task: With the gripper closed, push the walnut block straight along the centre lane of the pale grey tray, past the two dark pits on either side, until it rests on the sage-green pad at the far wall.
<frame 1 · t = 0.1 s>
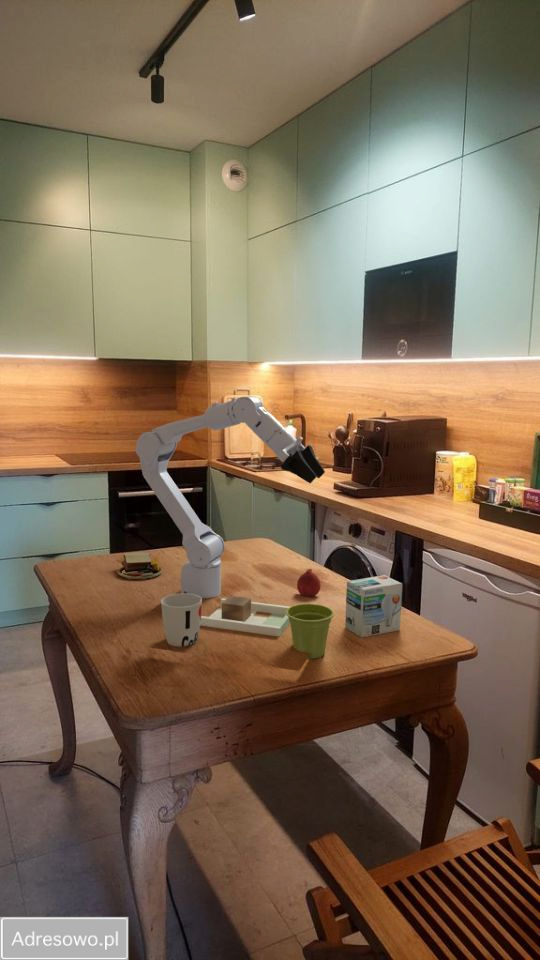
hand: (317, 477, 145), 32 cm above the table, tool tilted 50°, fingers open, 7 cm apart
onion: (308, 600, 159), on the table
block: (236, 618, 142), point 1 cm above the table, touching tray
light bulb box: (372, 629, 141), on the table
toy sandwich meal: (138, 574, 179), on the table
plant pot: (308, 654, 128), on the table
tray: (249, 626, 141), on the table
cup: (182, 648, 130), on the table
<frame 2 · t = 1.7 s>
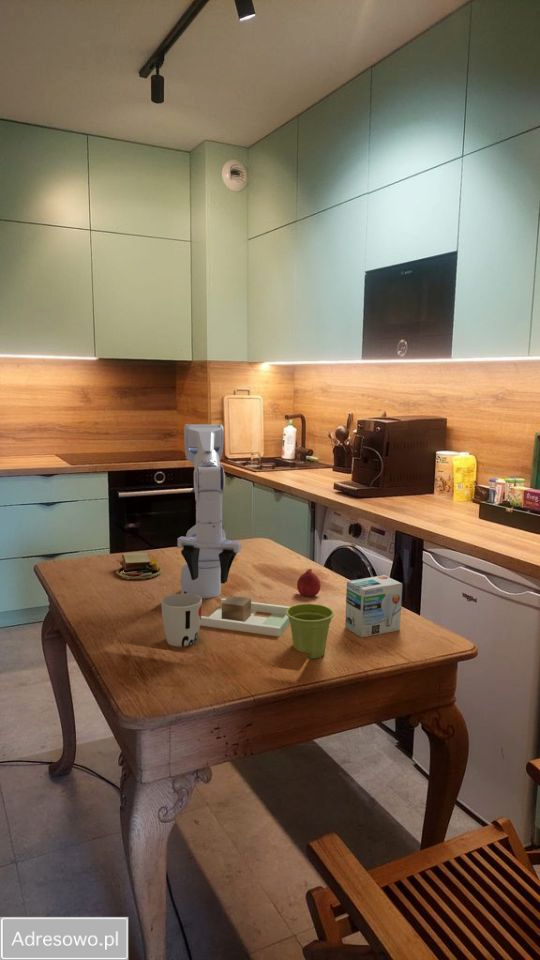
hand: (209, 580, 143), 9 cm above the table, tool pointing down, fingers open, 6 cm apart
nothing on the table moved.
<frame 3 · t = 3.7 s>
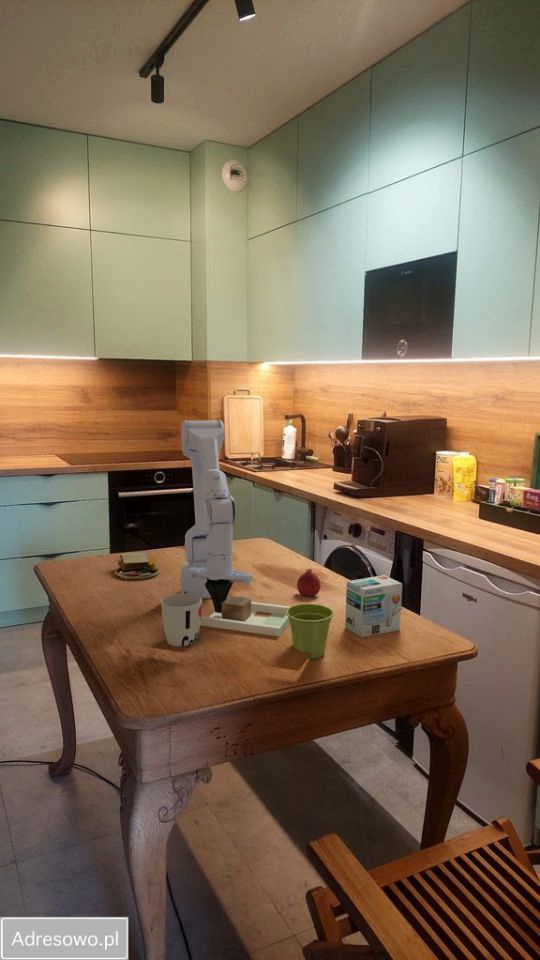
hand: (219, 611, 143), 3 cm above the table, tool pointing down, fingers closed
block: (236, 618, 142), point 2 cm above the table, touching gripper, tray
everything else where it was.
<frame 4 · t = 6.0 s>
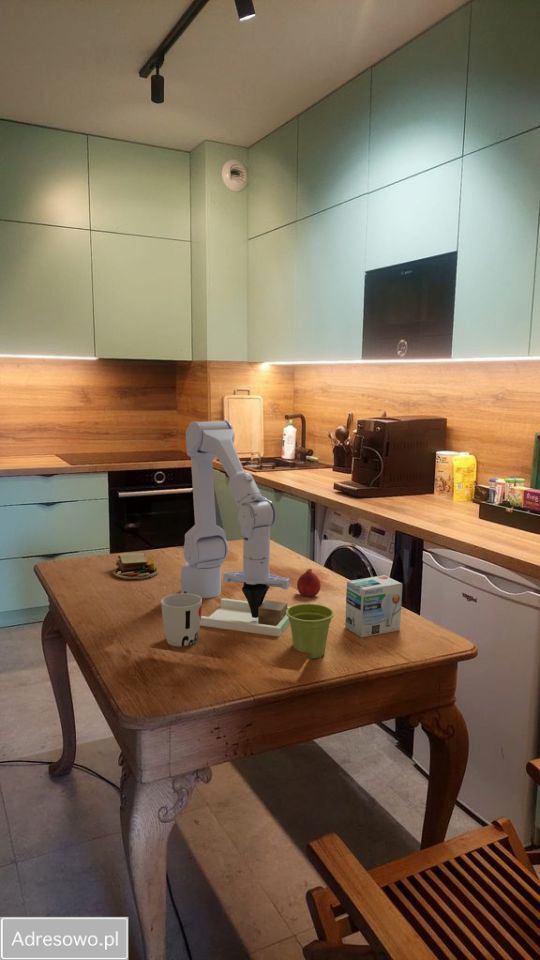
hand: (255, 616, 141), 3 cm above the table, tool pointing down, fingers closed
block: (272, 622, 140), point 1 cm above the table, touching gripper, tray
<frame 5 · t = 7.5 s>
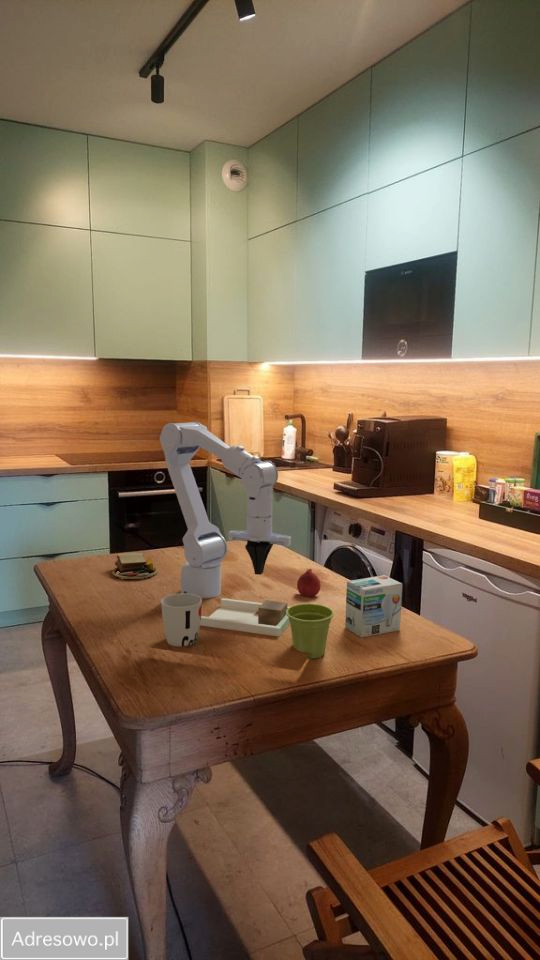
hand: (259, 573, 147), 10 cm above the table, tool pointing down, fingers closed
block: (272, 622, 140), point 1 cm above the table, touching tray
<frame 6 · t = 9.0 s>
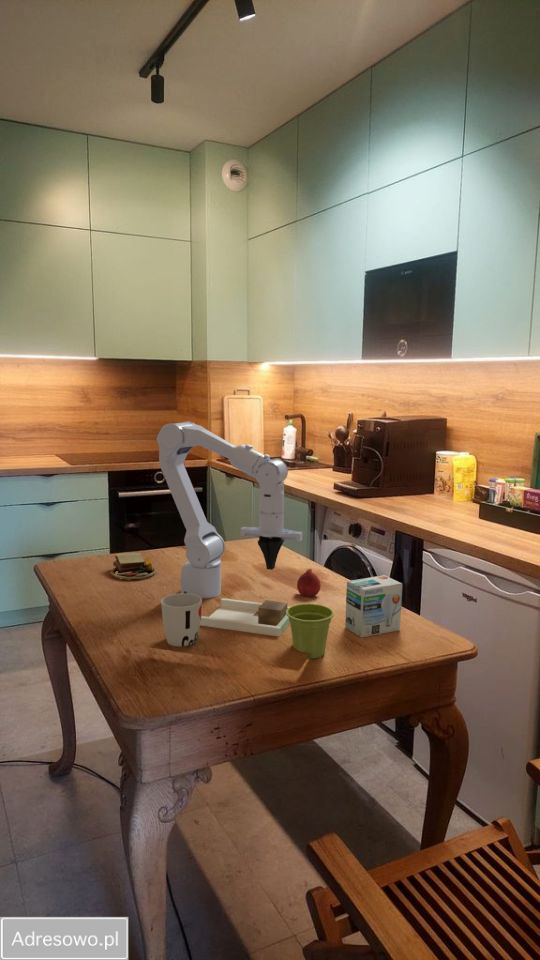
hand: (270, 568, 151), 10 cm above the table, tool pointing down, fingers closed
at the end: block 0.1 cm from the target spot on the tray, point 1.5 cm above the tray's base; block tilted 1° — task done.
